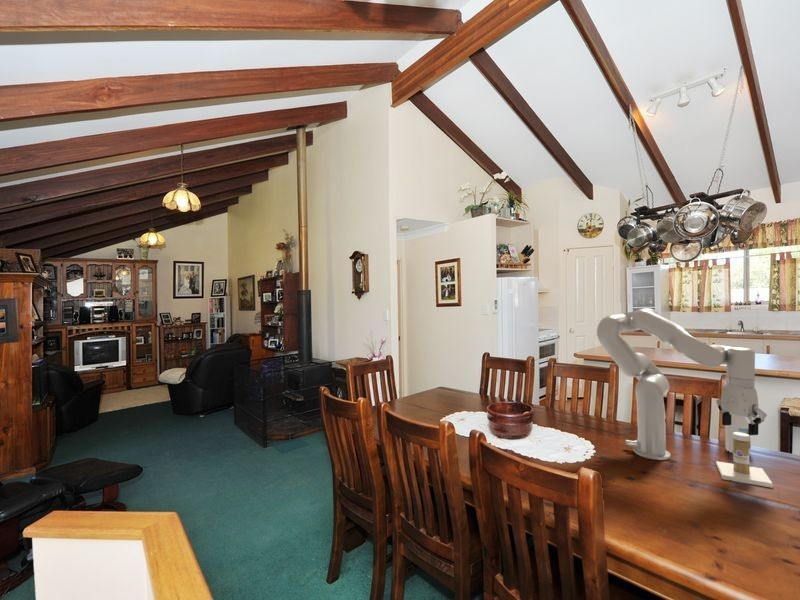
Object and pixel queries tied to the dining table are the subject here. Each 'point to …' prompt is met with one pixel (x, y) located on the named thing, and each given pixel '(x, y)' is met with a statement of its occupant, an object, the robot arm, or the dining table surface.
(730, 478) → the ceramic tile
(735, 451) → the sprinkles bottle
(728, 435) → the milk bottle
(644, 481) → the dining table surface
